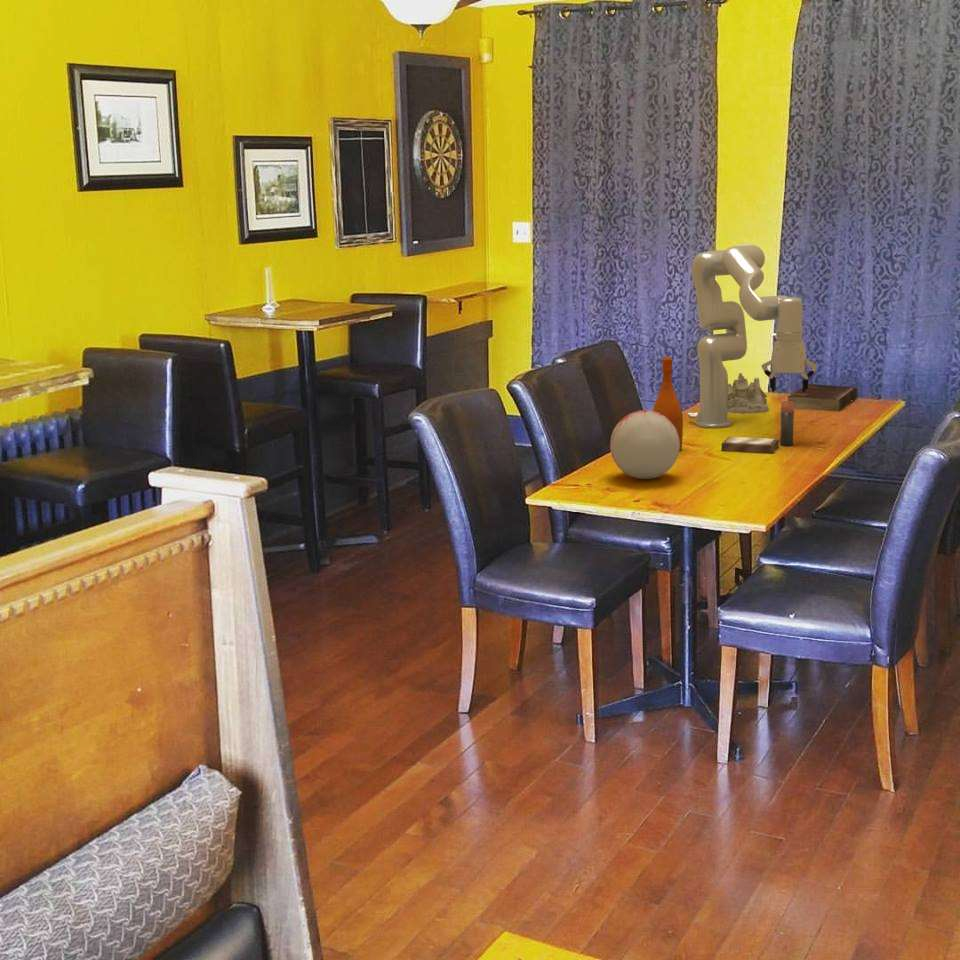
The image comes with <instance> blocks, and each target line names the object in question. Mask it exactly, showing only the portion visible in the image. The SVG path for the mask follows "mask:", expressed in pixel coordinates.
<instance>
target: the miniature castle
mask: <svg viewBox="0 0 960 960" xmlns="http://www.w3.org/2000/svg"><path fill="white" fill-rule="evenodd" d="M767 397H768V395H767V394H766V393H765V392H764V391H763V389H762V388H761V385H760V377H759V378H758V377H754V379H753V381H751V382H750V383H749V382H748V378H745V376H744V375H743V373H742V372H739V373H738V376H737V379H734V380H733V383H728V413H730V414H737V413H740V414H742V415H745V414H746V413H748V414H761V413H763V412H764V413H768V412H769V411H770V410H769V405H768V404H767V403H768V400H767V399H768V398H767Z"/></svg>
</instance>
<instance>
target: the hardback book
mask: <svg viewBox="0 0 960 960" xmlns="http://www.w3.org/2000/svg"><path fill="white" fill-rule="evenodd" d="M856 399H858V387H856V386H846V385H845V386H844V385H842V386H841V385H831V384H829V385H827V384H813V383H812V384H811V383H808V389H806V392H803V387H801V388H800V389H798V390H796V391H795V392H793V393H791V394H789V395H788V396H787V401H792V402H794V410H806V409H807V411H823V412H825V411H826V412H840V411H841V410H843V409H844V408H846V407H847V406H848V405H849V404H851V403H852V402H853V401H851V400H854V401H855V400H856ZM850 402H851V403H850ZM847 404H848V405H847ZM808 409H809V410H808Z"/></svg>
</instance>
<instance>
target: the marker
mask: <svg viewBox="0 0 960 960" xmlns="http://www.w3.org/2000/svg"><path fill="white" fill-rule="evenodd" d="M780 404H781V405H780V437H779V438H780V441H779V445H780V447H793V446H794V425H795V424H794V423H795V422H794V421H795V415H794V414H795V409H794V402H792V401H788V400H787V401H783V400H782V401H781V403H780Z"/></svg>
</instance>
